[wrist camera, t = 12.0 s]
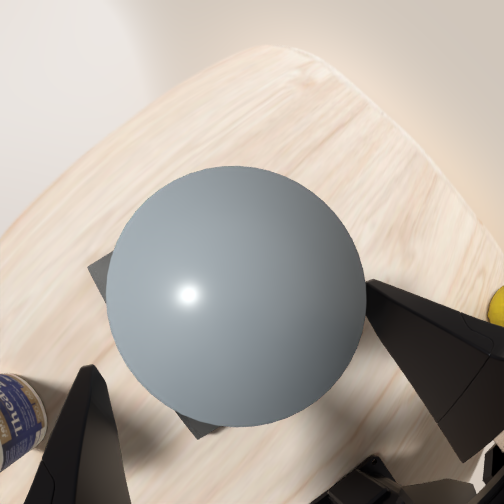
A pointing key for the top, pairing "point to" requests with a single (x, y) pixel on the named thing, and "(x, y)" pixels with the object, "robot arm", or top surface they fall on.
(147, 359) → the grey rounded cylinder
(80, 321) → the top surface
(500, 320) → the lemon
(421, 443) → the top surface
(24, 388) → the pill bottle
